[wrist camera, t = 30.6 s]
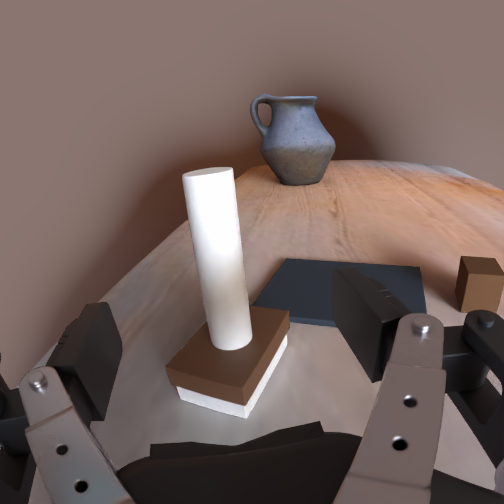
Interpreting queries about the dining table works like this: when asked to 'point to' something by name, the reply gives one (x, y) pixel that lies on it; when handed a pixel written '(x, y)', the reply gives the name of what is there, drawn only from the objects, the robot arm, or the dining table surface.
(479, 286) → the brown cube
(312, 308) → the mat
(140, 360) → the dining table surface
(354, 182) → the dining table surface
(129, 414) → the dining table surface
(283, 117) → the pitcher
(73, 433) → the robot arm
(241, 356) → the tall white pillar
